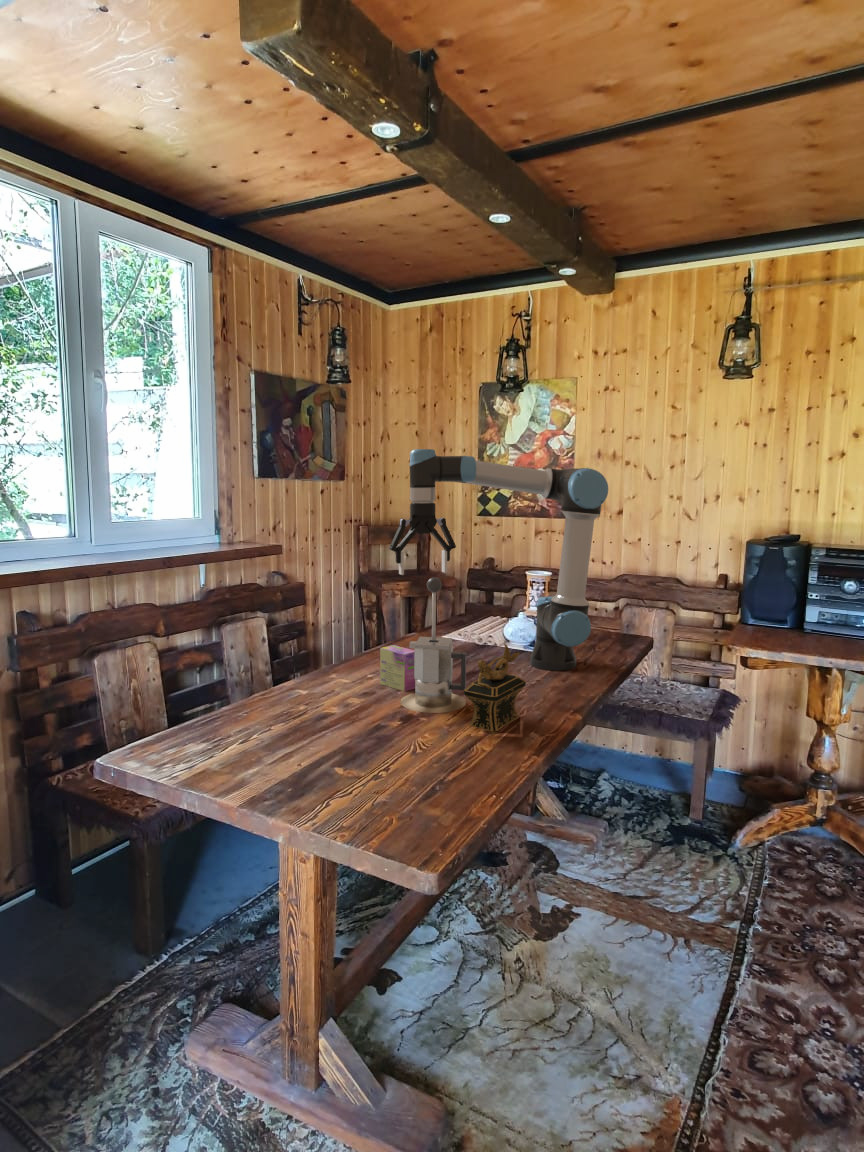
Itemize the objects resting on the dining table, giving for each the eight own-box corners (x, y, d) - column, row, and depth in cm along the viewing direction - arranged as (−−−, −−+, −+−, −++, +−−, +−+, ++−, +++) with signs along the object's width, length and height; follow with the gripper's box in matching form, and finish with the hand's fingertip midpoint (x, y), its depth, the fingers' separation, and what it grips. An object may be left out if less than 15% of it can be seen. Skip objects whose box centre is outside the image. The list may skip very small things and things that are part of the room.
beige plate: (468, 695, 200) (468, 693, 200) (462, 717, 182) (462, 714, 182) (406, 692, 202) (406, 689, 202) (394, 713, 185) (395, 710, 185)
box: (418, 689, 205) (418, 650, 203) (404, 694, 201) (404, 654, 199) (393, 682, 212) (393, 644, 210) (379, 686, 208) (379, 647, 206)
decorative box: (495, 738, 168) (497, 658, 165) (461, 729, 174) (462, 652, 171) (532, 715, 185) (534, 642, 182) (500, 707, 190) (502, 637, 187)
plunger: (442, 638, 191) (442, 576, 189) (440, 641, 187) (440, 578, 185) (427, 637, 192) (427, 576, 189) (425, 640, 188) (425, 578, 185)
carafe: (466, 697, 196) (467, 638, 193) (463, 709, 186) (464, 647, 184) (412, 694, 198) (413, 636, 195) (406, 706, 188) (407, 644, 186)
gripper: (457, 500, 214) (457, 569, 218) (378, 502, 206) (379, 573, 209) (466, 501, 207) (466, 572, 211) (385, 503, 199) (386, 577, 202)
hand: (423, 573), depth 210 cm, fingers open, 13 cm apart
